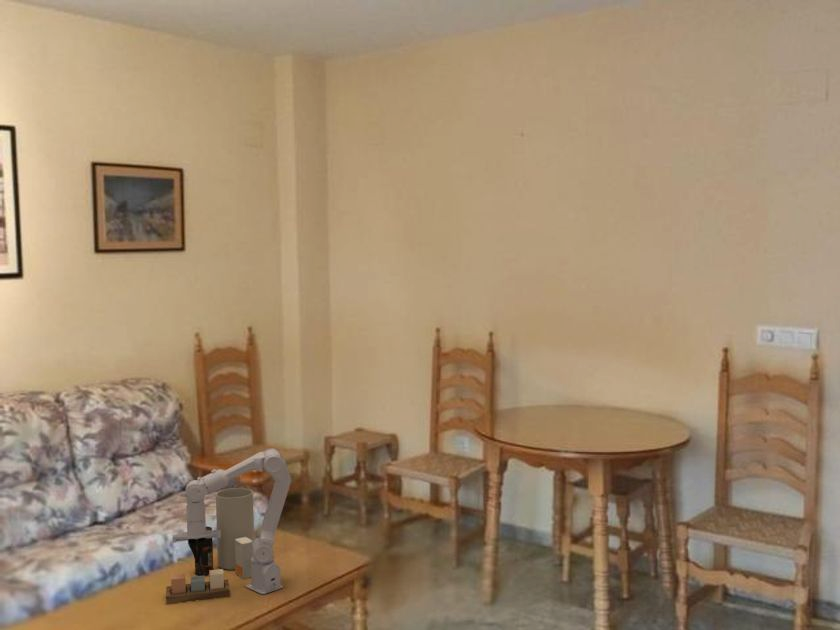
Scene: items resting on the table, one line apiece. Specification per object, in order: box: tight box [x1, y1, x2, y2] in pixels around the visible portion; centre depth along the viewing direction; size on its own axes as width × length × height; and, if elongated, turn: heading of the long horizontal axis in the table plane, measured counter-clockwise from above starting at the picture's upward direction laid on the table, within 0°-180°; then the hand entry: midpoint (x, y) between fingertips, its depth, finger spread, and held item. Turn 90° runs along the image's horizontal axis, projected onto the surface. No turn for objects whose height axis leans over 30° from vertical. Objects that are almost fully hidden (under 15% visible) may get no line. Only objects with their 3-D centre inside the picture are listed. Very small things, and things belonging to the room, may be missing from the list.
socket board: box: [165, 579, 231, 605], centre depth 259 cm, size 9×19×2 cm, turn 106°
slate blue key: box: [190, 575, 206, 592], centre depth 258 cm, size 4×4×5 cm
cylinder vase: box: [215, 487, 255, 571], centre depth 285 cm, size 12×12×25 cm
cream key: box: [208, 568, 225, 590], centre depth 260 cm, size 4×4×5 cm
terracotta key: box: [170, 573, 187, 594], centre depth 257 cm, size 4×4×5 cm
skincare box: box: [234, 537, 253, 580], centre depth 274 cm, size 6×4×12 cm
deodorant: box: [194, 525, 214, 577], centre depth 277 cm, size 6×6×15 cm
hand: (197, 562), depth 259 cm, fingers closed
